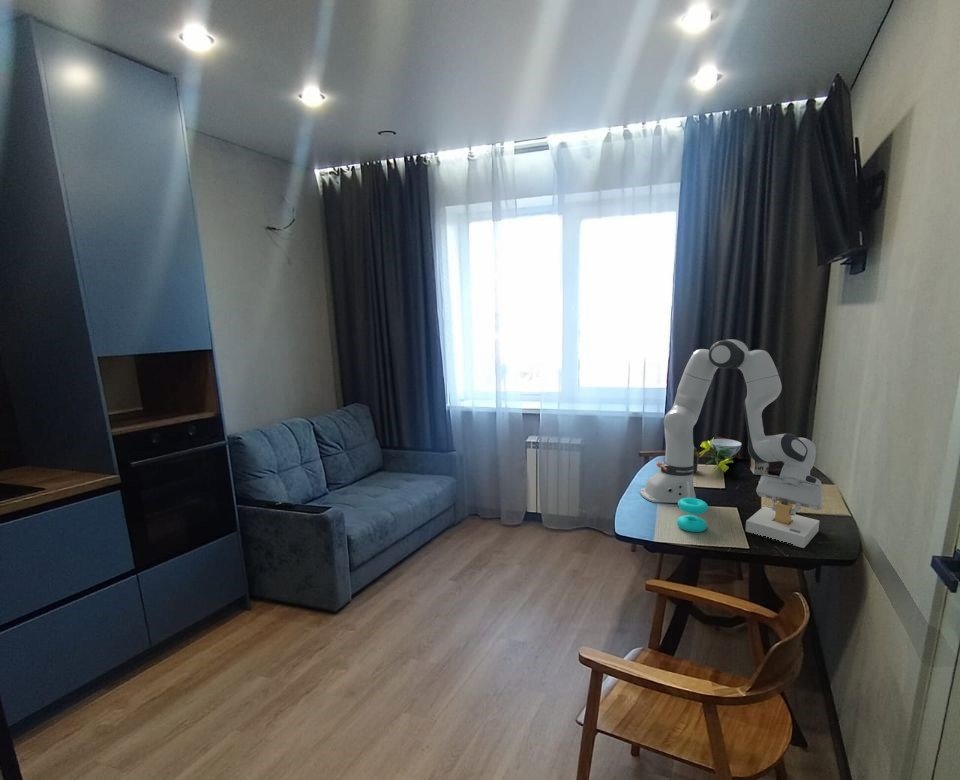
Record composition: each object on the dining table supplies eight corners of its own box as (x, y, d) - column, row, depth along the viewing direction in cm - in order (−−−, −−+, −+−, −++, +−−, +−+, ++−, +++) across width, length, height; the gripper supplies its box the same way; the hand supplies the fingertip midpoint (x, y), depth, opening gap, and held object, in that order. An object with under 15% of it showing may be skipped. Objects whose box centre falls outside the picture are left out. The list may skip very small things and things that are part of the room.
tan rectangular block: (774, 525, 174) (776, 499, 172) (778, 521, 177) (780, 496, 175) (787, 528, 171) (789, 502, 170) (790, 524, 174) (792, 499, 172)
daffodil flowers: (749, 466, 249) (734, 465, 222) (720, 476, 256) (703, 477, 229) (733, 436, 255) (717, 431, 228) (706, 447, 263) (687, 443, 236)
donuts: (705, 509, 170) (675, 503, 176) (703, 536, 172) (674, 529, 178) (710, 499, 178) (681, 494, 184) (709, 525, 180) (680, 519, 186)
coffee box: (768, 475, 232) (771, 442, 229) (753, 474, 234) (755, 442, 231) (764, 470, 240) (766, 438, 238) (749, 468, 242) (752, 437, 240)
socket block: (745, 531, 175) (746, 519, 174) (762, 516, 187) (763, 505, 186) (803, 548, 162) (805, 536, 161) (818, 531, 174) (819, 519, 173)
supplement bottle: (692, 474, 236) (693, 450, 234) (679, 471, 241) (680, 447, 239) (700, 471, 239) (701, 448, 238) (687, 468, 245) (688, 445, 243)
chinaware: (744, 455, 264) (745, 441, 263) (735, 462, 253) (736, 447, 252) (715, 450, 274) (715, 437, 273) (705, 456, 264) (706, 442, 262)
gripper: (760, 468, 183) (749, 500, 178) (825, 481, 169) (815, 516, 164) (763, 477, 187) (753, 508, 182) (827, 490, 172) (817, 525, 167)
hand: (783, 512), depth 173 cm, fingers closed on tan rectangular block, 4 cm apart
